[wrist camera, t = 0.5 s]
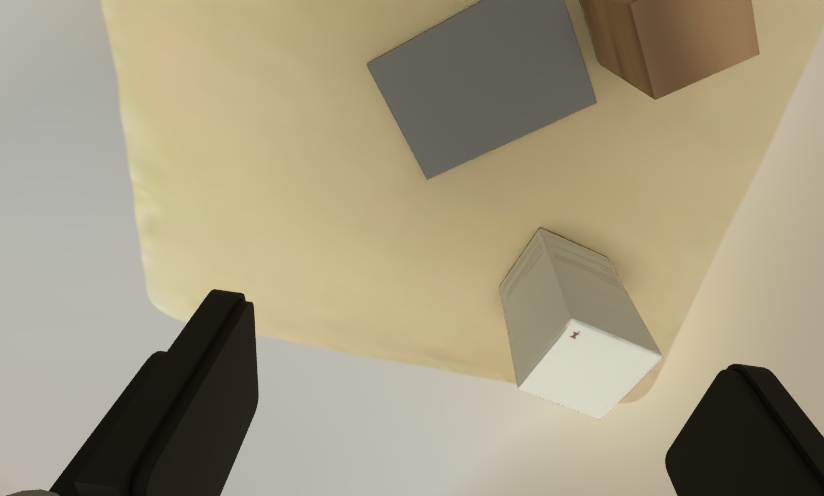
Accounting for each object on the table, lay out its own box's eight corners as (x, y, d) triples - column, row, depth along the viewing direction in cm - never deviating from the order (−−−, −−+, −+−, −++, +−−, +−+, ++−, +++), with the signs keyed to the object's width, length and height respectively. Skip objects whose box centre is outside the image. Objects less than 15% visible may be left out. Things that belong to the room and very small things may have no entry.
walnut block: (652, -47, 31) (743, -53, 22) (669, 28, 33) (759, 53, 24) (576, -7, 32) (630, 4, 23) (597, 63, 35) (655, 99, 25)
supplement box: (496, 287, 45) (512, 389, 34) (539, 224, 41) (573, 317, 30) (563, 316, 46) (599, 424, 35) (611, 257, 43) (668, 357, 32)
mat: (550, -38, 32) (551, -38, 31) (594, 101, 36) (596, 102, 35) (367, 63, 35) (366, 64, 35) (427, 177, 40) (426, 179, 39)
